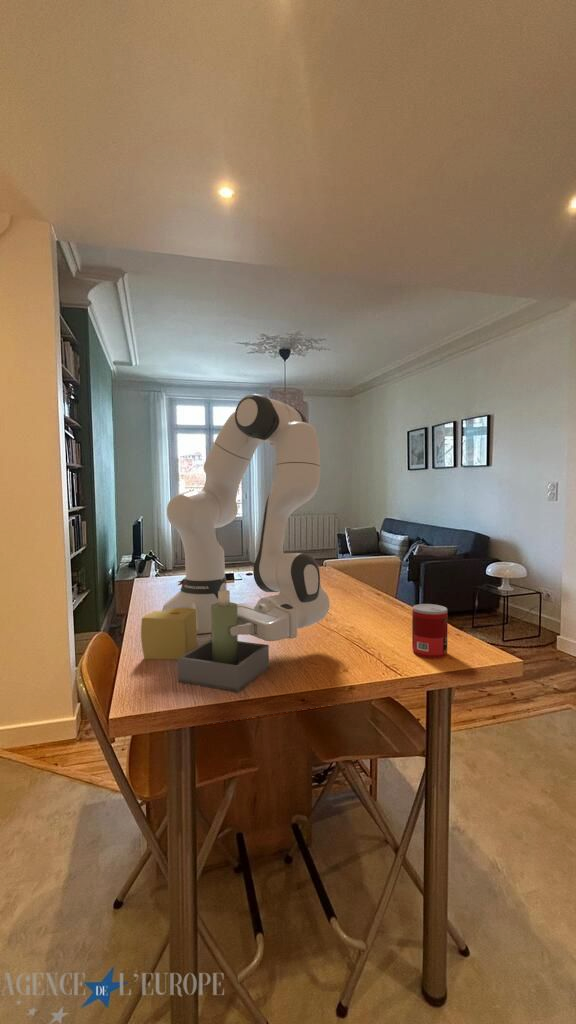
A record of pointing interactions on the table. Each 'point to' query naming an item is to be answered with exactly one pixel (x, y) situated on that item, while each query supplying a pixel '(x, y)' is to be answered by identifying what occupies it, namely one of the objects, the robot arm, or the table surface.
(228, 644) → the green bottle
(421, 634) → the canned food
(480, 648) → the table surface
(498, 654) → the table surface
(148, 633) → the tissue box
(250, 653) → the box
